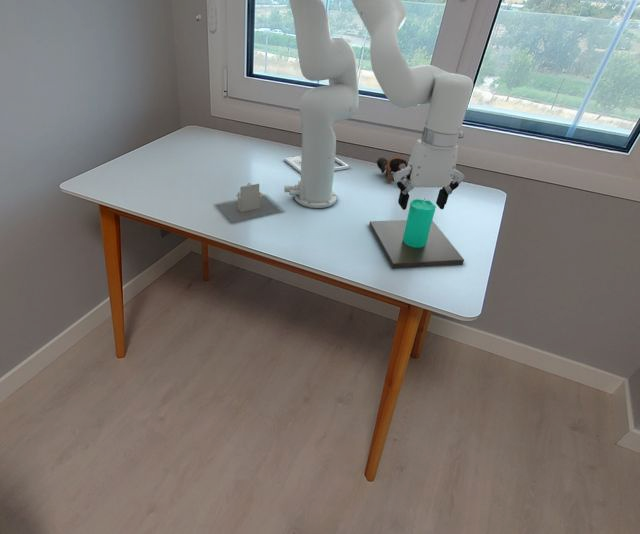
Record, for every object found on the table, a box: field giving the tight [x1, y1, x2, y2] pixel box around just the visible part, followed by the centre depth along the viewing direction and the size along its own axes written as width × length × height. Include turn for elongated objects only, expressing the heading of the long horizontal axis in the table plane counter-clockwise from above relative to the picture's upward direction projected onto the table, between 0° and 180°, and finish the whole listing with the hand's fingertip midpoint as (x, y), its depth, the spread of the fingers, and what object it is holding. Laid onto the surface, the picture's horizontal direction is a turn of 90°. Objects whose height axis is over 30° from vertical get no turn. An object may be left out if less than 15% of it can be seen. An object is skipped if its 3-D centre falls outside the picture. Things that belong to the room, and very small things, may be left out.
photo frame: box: [284, 155, 350, 174], centre depth 144 cm, size 15×1×18 cm
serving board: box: [368, 219, 465, 270], centre depth 104 cm, size 18×20×2 cm
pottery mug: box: [376, 156, 409, 184], centre depth 138 cm, size 12×10×8 cm
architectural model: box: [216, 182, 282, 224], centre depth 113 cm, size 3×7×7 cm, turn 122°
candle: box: [403, 197, 437, 248], centre depth 100 cm, size 6×6×12 cm
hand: (421, 206), depth 98 cm, fingers open, 9 cm apart
